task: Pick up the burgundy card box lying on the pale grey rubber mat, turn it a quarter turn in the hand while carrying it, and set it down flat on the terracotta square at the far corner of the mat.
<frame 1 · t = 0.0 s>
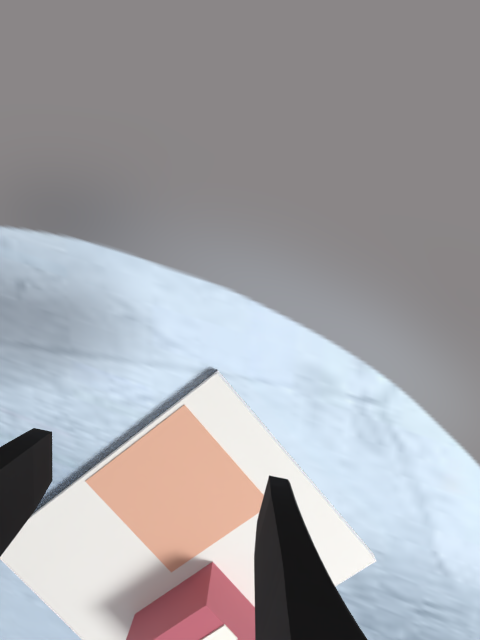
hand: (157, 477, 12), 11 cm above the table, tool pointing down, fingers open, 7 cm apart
mat: (180, 547, 25), on the table
card box: (194, 611, 25), point 1 cm above the table, touching mat
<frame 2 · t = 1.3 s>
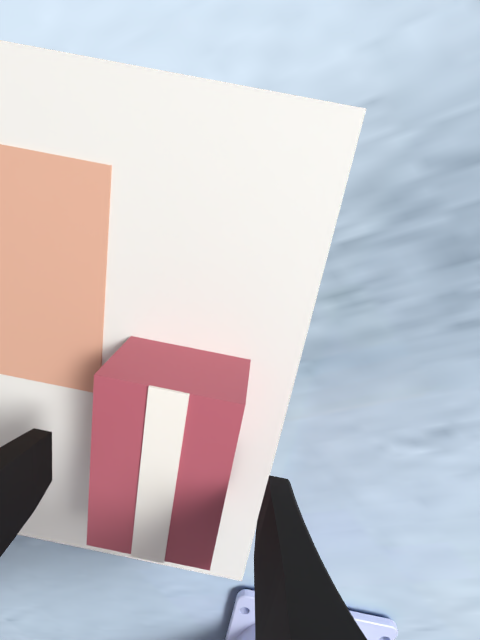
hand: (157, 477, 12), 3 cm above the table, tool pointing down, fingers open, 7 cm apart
mat: (90, 355, 15), on the table
card box: (179, 425, 15), point 1 cm above the table, touching mat
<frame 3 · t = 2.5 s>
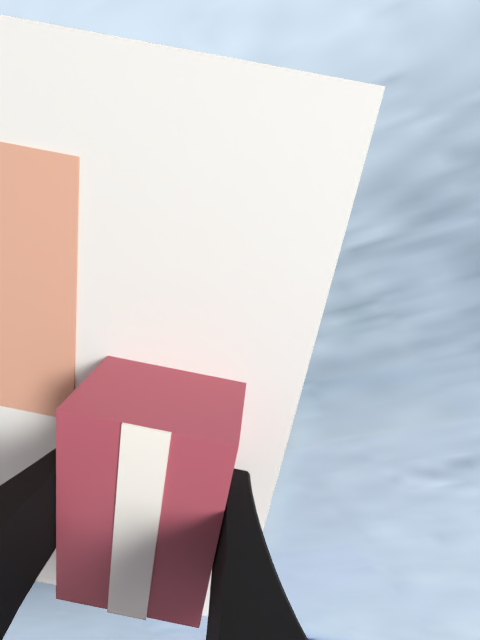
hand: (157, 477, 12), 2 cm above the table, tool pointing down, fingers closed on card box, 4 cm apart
mat: (63, 376, 13), on the table
card box: (165, 456, 13), point 1 cm above the table, touching gripper, mat
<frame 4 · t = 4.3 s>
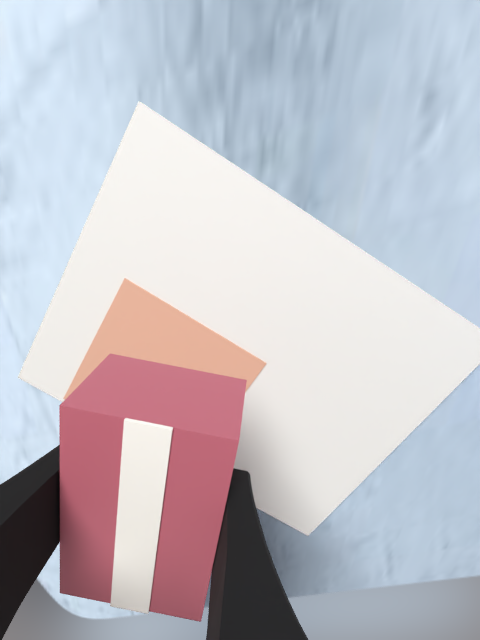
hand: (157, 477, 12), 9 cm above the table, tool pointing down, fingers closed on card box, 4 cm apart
mat: (241, 356, 20), on the table
card box: (167, 452, 13), point 8 cm above the table, touching gripper
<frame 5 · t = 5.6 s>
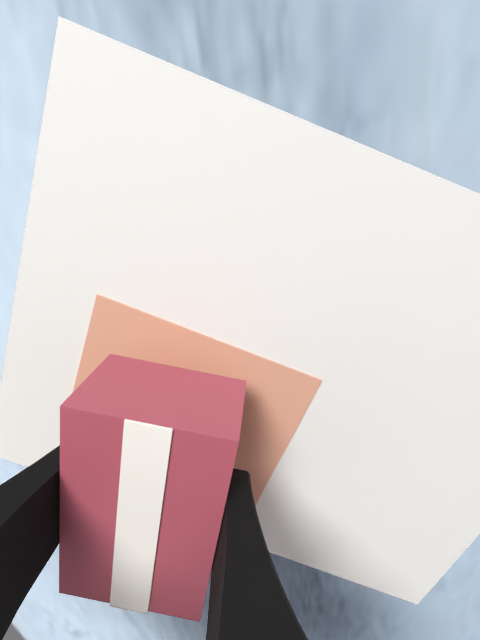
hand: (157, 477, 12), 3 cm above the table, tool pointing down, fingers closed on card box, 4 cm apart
mat: (282, 375, 14), on the table
card box: (166, 453, 13), point 2 cm above the table, touching gripper
when the fingers open (3 cm above the table, at t = 6.5 s): card box drops 1 cm, resting on mat.
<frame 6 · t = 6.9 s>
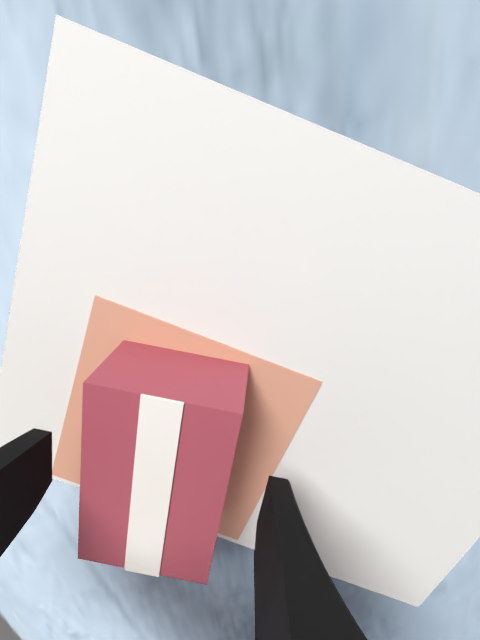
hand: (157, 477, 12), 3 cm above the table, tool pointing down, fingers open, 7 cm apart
mat: (282, 377, 14), on the table
card box: (175, 432, 14), point 1 cm above the table, touching mat
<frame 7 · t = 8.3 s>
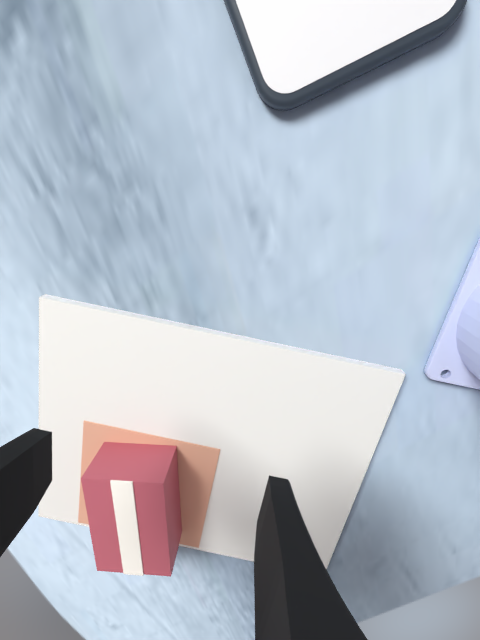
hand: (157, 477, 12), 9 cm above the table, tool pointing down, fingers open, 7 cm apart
mat: (200, 447, 23), on the table
card box: (144, 488, 23), point 1 cm above the table, touching mat
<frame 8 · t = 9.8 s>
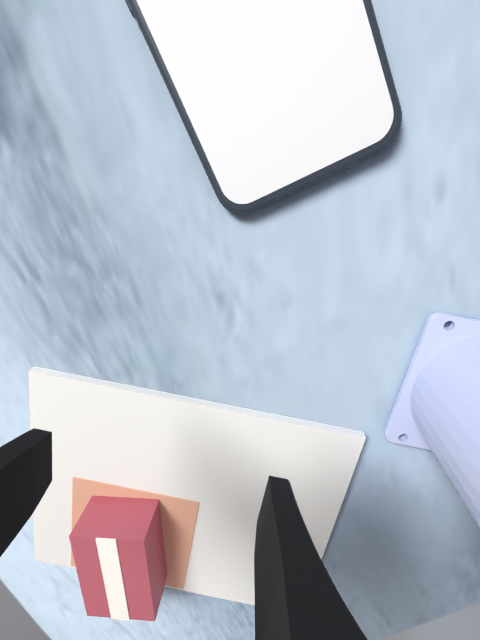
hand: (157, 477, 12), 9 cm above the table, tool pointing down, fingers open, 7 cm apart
mat: (182, 499, 25), on the table
card box: (131, 536, 25), point 1 cm above the table, touching mat
smartphone: (243, 2, 16), on the table
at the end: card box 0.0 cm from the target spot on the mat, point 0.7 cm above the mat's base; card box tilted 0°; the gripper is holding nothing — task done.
